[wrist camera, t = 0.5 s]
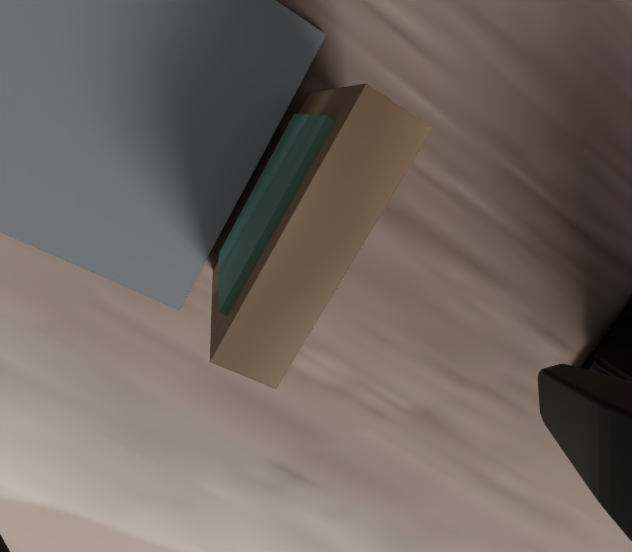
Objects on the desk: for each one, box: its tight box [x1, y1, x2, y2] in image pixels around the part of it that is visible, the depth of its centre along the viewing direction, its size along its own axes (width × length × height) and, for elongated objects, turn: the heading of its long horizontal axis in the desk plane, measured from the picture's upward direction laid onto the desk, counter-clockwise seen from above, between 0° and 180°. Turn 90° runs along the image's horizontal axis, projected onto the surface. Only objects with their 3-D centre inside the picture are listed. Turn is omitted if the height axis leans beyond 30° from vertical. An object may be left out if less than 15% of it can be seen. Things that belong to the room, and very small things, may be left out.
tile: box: [210, 84, 433, 389], centre depth 16 cm, size 2×8×8 cm, turn 149°
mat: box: [0, 0, 326, 310], centre depth 17 cm, size 14×12×1 cm
